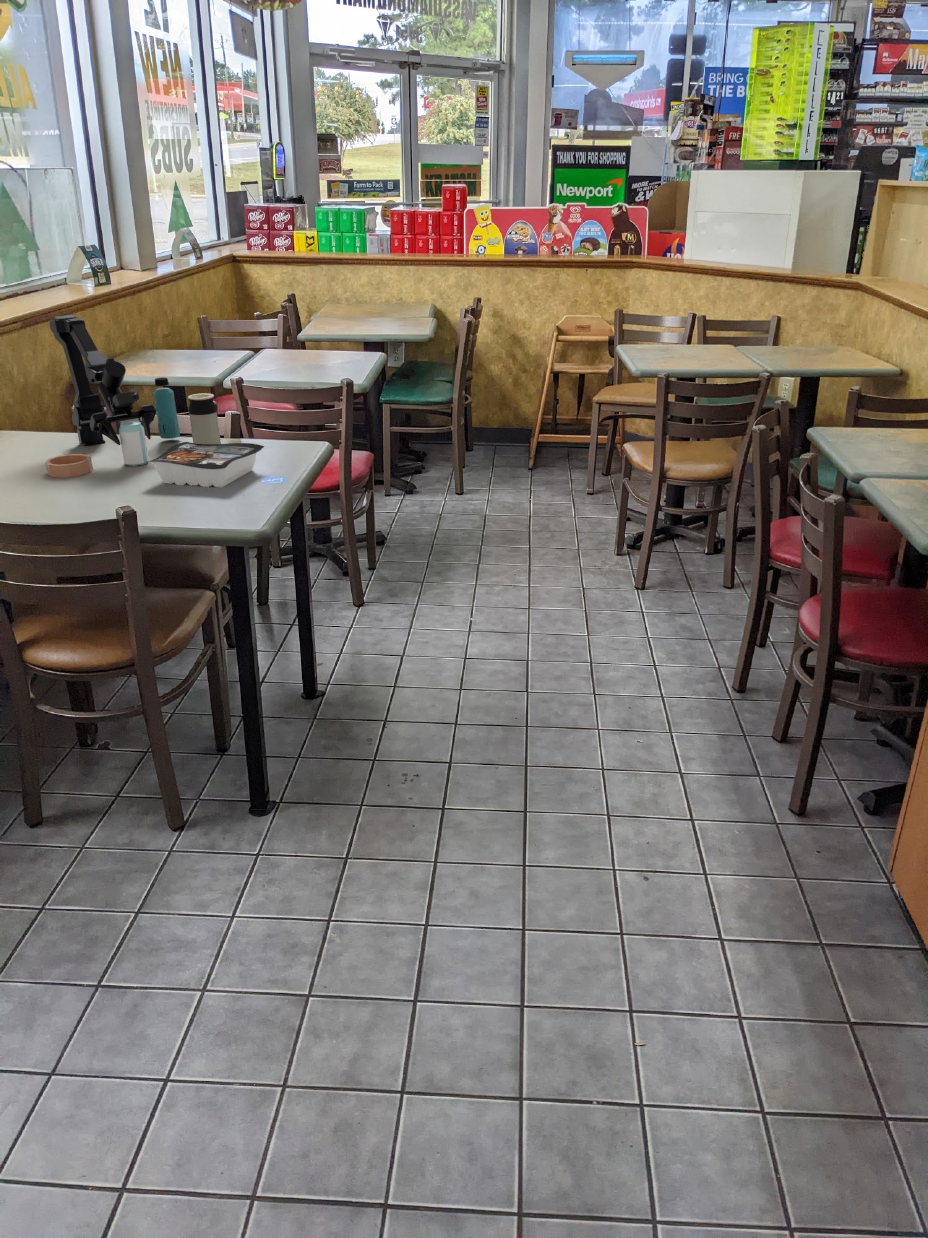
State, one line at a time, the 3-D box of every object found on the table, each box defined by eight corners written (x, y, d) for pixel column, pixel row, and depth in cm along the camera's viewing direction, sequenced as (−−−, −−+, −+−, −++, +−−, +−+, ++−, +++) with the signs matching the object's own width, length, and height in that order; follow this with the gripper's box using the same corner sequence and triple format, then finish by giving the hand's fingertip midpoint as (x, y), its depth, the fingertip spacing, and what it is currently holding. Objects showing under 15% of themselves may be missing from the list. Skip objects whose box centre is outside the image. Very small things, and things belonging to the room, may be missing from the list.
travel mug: (215, 459, 292) (207, 398, 284) (190, 458, 293) (182, 398, 286) (226, 452, 299) (219, 393, 291) (202, 451, 300) (194, 392, 293)
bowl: (84, 463, 291) (82, 451, 289) (98, 471, 282) (95, 460, 281) (43, 470, 284) (40, 459, 283) (55, 479, 276) (52, 467, 274)
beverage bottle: (184, 438, 316) (175, 375, 308) (176, 443, 310) (167, 379, 302) (164, 438, 317) (155, 375, 308) (156, 443, 311) (146, 379, 302)
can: (119, 465, 288) (112, 424, 283) (136, 459, 294) (130, 419, 289) (137, 467, 285) (130, 426, 280) (154, 461, 291) (148, 421, 286)
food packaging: (142, 459, 266) (186, 439, 285) (147, 486, 269) (189, 464, 288) (225, 465, 259) (264, 443, 279) (228, 492, 262) (267, 469, 282)
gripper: (86, 385, 277) (107, 430, 274) (148, 376, 288) (170, 419, 285) (80, 409, 286) (102, 453, 283) (141, 399, 297) (162, 441, 294)
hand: (134, 441), depth 286 cm, fingers open, 9 cm apart
